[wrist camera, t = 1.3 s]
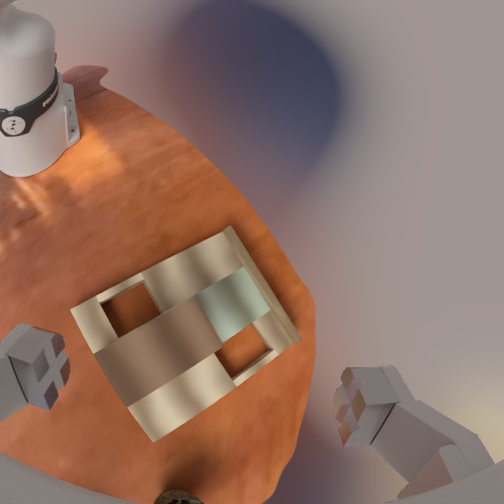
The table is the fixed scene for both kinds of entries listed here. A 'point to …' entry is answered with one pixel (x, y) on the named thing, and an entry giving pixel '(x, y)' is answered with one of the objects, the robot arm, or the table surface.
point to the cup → (177, 497)
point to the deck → (217, 313)
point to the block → (158, 351)
